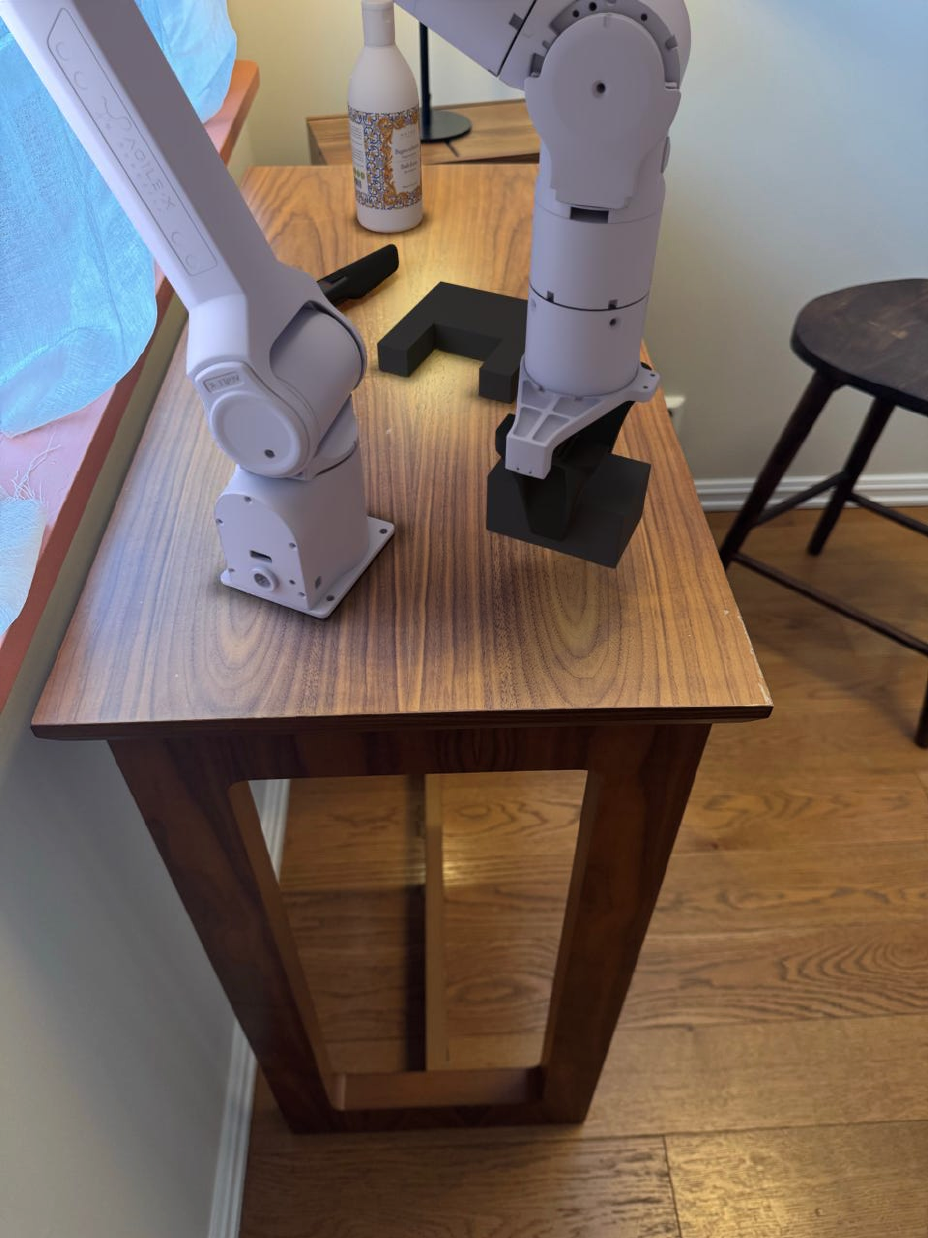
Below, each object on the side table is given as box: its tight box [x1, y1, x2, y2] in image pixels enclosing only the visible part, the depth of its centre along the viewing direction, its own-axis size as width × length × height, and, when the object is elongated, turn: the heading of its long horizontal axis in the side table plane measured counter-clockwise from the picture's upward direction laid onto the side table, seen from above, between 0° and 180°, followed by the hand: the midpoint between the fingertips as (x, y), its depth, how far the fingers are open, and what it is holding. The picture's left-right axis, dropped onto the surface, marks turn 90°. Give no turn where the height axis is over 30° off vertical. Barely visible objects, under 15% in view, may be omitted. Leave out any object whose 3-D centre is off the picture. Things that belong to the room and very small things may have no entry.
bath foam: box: [346, 0, 424, 234], centre depth 90 cm, size 7×7×20 cm
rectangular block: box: [485, 452, 652, 570], centre depth 52 cm, size 8×5×4 cm, turn 65°
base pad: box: [376, 280, 528, 404], centre depth 78 cm, size 12×12×2 cm
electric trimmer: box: [316, 243, 400, 309], centre depth 83 cm, size 4×16×3 cm, turn 143°
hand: (565, 505), depth 53 cm, fingers closed on rectangular block, 5 cm apart
